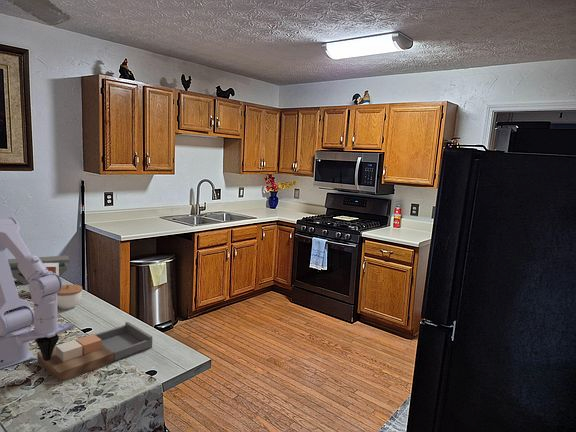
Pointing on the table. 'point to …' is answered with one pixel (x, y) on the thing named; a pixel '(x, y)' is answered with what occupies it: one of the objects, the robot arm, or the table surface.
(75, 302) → the lidded jar
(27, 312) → the robot arm
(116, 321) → the table surface
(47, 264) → the small box
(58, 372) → the brown wooden board
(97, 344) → the terracotta tile
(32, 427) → the table surface
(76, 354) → the cream tile
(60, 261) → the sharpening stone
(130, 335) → the tray
